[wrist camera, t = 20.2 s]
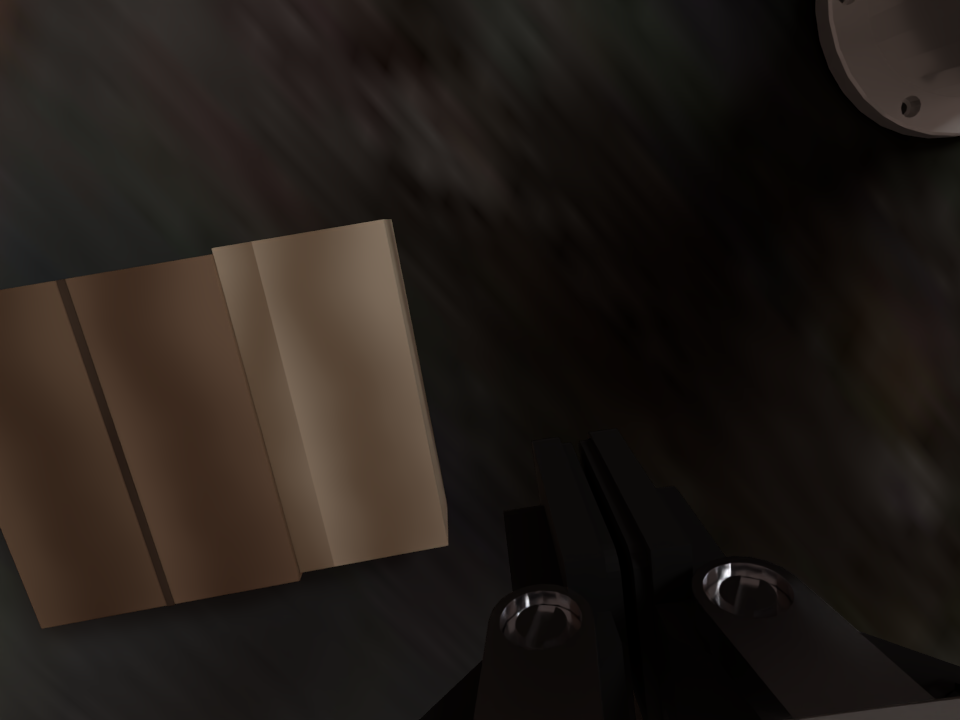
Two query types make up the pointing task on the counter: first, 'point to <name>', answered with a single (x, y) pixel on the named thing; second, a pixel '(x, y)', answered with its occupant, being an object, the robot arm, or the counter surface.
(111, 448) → the brown grooved flat slab
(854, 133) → the counter surface
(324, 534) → the maple plank
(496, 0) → the counter surface
